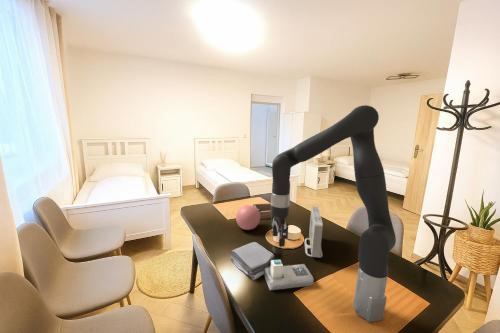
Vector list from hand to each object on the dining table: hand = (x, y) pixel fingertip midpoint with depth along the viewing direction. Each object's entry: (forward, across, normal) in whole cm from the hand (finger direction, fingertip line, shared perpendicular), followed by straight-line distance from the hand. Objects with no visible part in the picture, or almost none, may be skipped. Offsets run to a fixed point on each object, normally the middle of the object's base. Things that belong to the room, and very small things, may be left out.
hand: (278, 240), depth 93 cm
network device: (+20, +23, -29) cm, 42 cm away
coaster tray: (+19, +72, -15) cm, 76 cm away
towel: (+20, +13, +7) cm, 25 cm away
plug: (+19, 0, 0) cm, 19 cm away
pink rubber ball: (+20, +52, +1) cm, 56 cm away
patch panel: (+20, 0, -6) cm, 21 cm away
